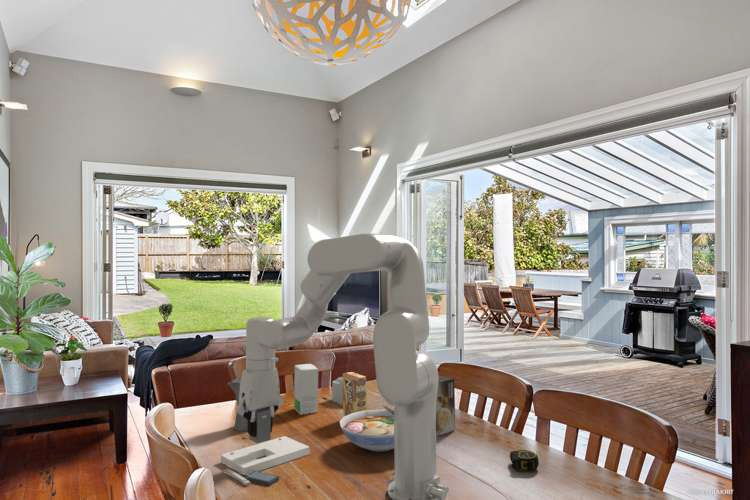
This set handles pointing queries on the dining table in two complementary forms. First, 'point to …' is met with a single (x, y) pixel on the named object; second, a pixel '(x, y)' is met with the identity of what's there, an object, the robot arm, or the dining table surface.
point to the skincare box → (306, 389)
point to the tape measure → (524, 460)
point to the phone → (262, 478)
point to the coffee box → (445, 406)
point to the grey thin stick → (237, 476)
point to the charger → (262, 425)
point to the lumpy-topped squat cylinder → (339, 390)
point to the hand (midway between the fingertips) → (260, 432)
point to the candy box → (354, 393)
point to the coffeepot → (240, 420)
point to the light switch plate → (273, 450)
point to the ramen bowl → (370, 429)
